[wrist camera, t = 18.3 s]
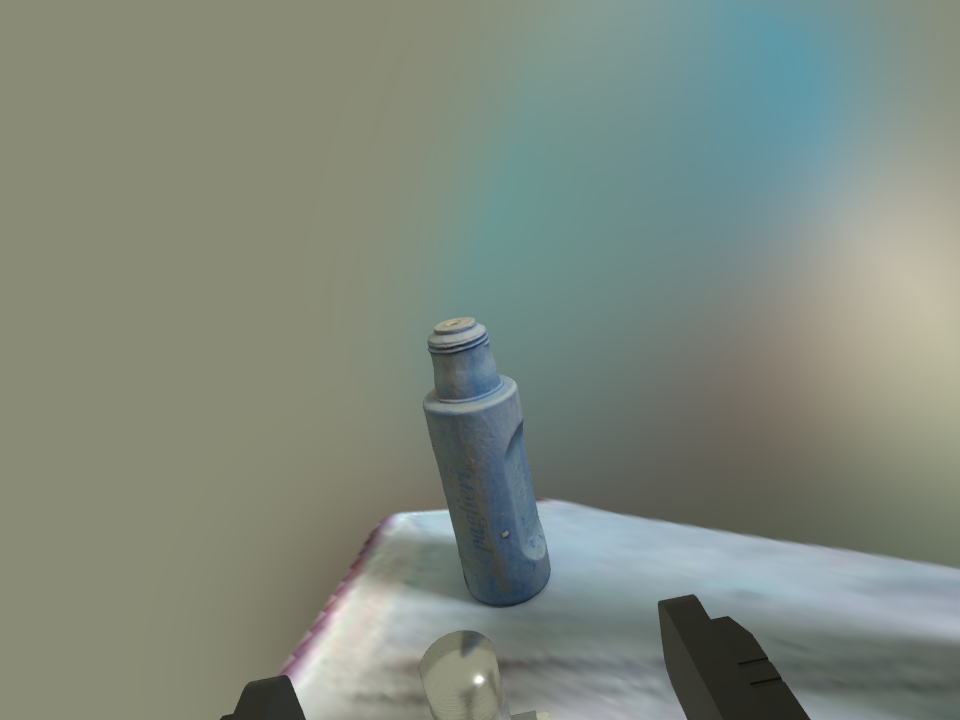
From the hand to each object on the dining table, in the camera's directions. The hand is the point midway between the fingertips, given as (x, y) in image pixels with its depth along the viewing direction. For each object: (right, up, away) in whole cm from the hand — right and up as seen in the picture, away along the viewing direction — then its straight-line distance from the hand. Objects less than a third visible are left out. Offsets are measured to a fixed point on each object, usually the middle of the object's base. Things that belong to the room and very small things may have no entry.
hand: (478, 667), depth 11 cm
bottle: (+3, -18, +49) cm, 52 cm away
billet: (+1, -24, +27) cm, 36 cm away
